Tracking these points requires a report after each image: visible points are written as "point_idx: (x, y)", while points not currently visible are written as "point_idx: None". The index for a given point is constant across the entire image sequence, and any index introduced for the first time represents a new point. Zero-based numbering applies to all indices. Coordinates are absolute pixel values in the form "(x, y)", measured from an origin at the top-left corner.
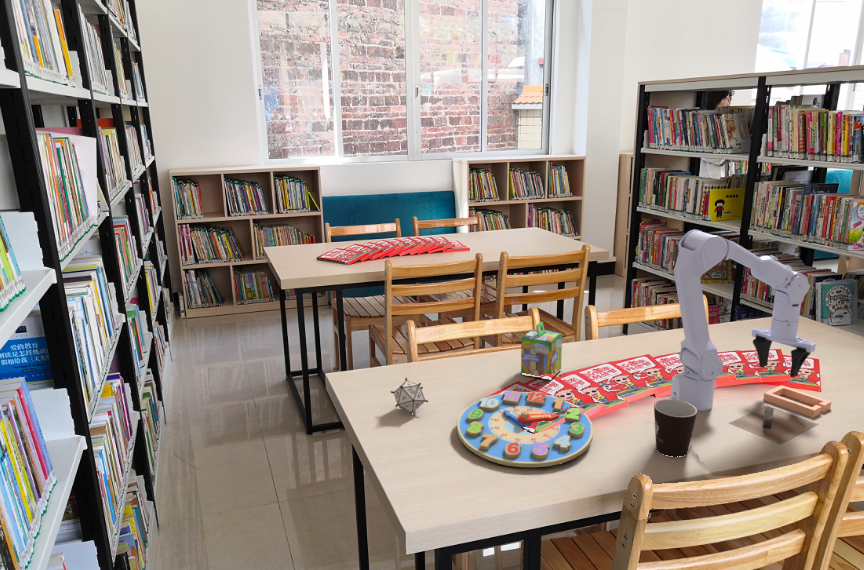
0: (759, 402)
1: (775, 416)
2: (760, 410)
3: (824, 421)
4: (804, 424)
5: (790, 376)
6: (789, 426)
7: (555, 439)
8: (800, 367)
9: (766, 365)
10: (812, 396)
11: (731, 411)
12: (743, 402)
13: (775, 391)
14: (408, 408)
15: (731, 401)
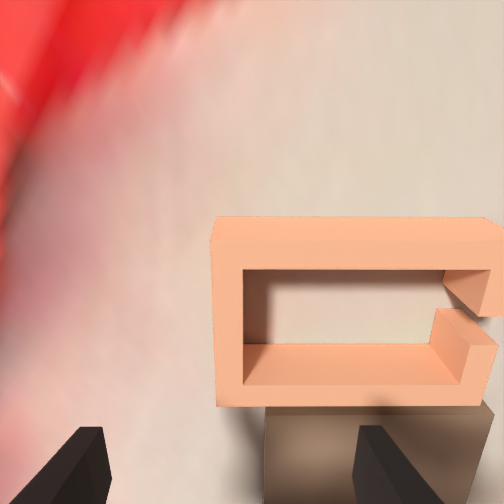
0: (202, 358)
1: (341, 472)
2: (274, 469)
3: (484, 319)
4: (450, 452)
5: (353, 477)
6: None
7: None
8: (433, 494)
9: (101, 432)
10: (419, 253)
11: (191, 493)
12: (163, 406)
13: (242, 351)
14: None
15: (130, 431)
